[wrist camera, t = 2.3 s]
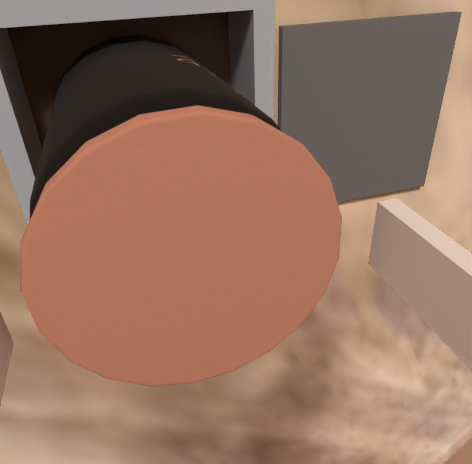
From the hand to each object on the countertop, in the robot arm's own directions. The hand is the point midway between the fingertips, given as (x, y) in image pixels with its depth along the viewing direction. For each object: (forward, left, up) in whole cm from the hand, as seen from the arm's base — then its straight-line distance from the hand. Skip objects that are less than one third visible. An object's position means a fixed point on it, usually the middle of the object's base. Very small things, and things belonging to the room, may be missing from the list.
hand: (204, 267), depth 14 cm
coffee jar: (0, 0, -18) cm, 18 cm away
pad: (+17, -2, -18) cm, 24 cm away
